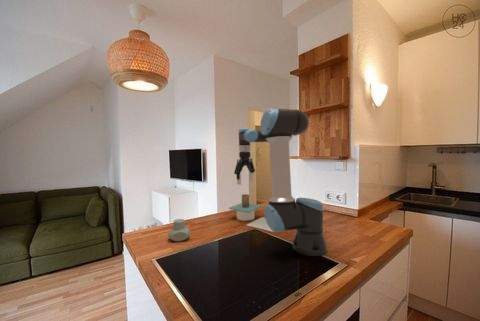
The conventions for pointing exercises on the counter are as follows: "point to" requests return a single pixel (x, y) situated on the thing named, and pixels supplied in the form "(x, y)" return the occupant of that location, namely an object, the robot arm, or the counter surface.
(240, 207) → the lid
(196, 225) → the counter surface
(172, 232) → the air freshener
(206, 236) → the counter surface
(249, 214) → the bowl
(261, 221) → the mat
